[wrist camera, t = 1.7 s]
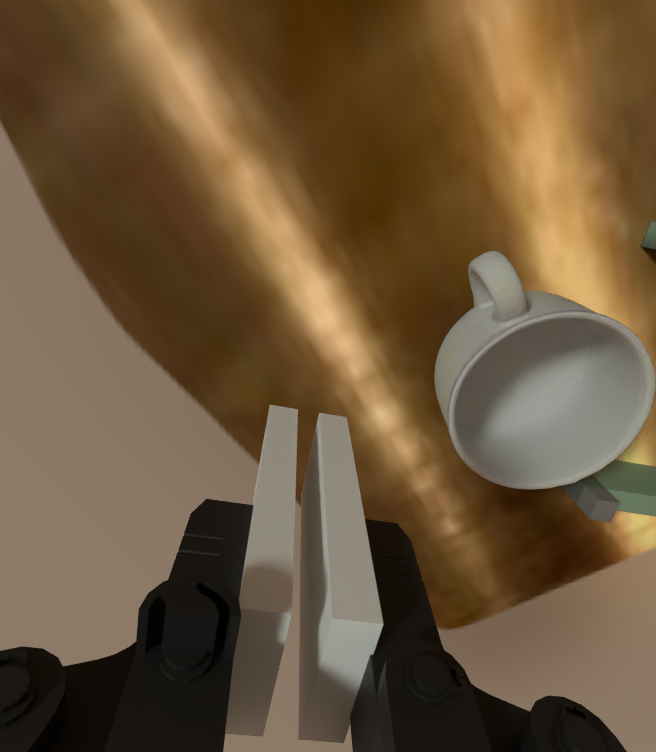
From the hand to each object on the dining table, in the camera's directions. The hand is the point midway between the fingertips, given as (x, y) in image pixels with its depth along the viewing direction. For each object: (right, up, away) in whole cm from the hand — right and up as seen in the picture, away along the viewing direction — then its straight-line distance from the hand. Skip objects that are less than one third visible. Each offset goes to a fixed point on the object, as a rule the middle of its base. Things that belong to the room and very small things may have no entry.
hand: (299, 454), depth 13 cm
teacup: (+12, +5, +19) cm, 23 cm away
